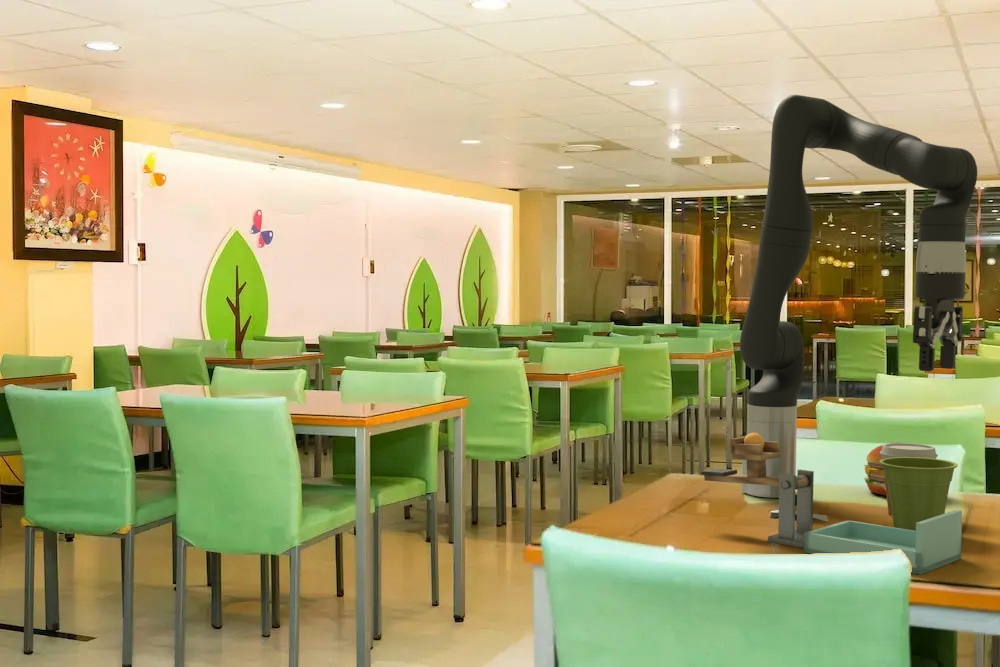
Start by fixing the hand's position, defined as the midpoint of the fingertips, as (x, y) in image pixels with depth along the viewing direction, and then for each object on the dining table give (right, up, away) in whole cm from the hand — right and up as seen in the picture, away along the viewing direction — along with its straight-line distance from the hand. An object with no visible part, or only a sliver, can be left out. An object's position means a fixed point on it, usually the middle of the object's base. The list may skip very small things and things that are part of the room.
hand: (936, 369), depth 179 cm
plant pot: (-4, -26, -1) cm, 27 cm away
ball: (-31, -12, -4) cm, 33 cm away
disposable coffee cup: (0, -26, +13) cm, 29 cm away
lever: (-31, -18, -4) cm, 36 cm away
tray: (-16, -27, -19) cm, 36 cm away
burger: (+6, -26, +33) cm, 42 cm away
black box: (-20, -26, +10) cm, 35 cm away
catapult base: (-25, -26, -9) cm, 38 cm away
